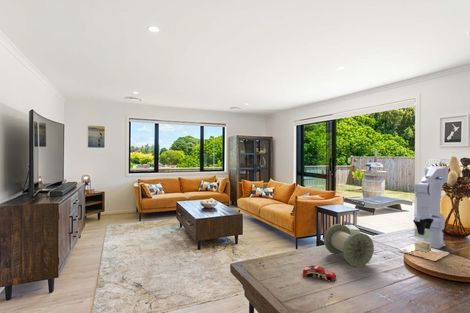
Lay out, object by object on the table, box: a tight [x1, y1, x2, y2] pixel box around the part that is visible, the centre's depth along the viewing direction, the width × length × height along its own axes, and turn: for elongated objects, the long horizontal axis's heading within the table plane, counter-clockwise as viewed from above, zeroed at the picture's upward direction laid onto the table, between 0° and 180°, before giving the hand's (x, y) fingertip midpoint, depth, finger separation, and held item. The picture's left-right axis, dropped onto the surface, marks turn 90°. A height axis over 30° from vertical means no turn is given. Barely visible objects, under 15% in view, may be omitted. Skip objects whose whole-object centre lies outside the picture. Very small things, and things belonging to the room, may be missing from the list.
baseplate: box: [398, 243, 450, 255], centre depth 134 cm, size 16×16×1 cm
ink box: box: [344, 224, 361, 235], centre depth 140 cm, size 9×5×12 cm, turn 179°
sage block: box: [414, 227, 430, 239], centre depth 134 cm, size 5×5×4 cm
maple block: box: [414, 240, 432, 253], centre depth 134 cm, size 5×5×4 cm
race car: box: [302, 265, 337, 282], centre depth 110 cm, size 13×5×4 cm, turn 66°
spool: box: [323, 223, 375, 268], centre depth 127 cm, size 16×15×15 cm
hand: (423, 233), depth 133 cm, fingers closed on sage block, 5 cm apart
